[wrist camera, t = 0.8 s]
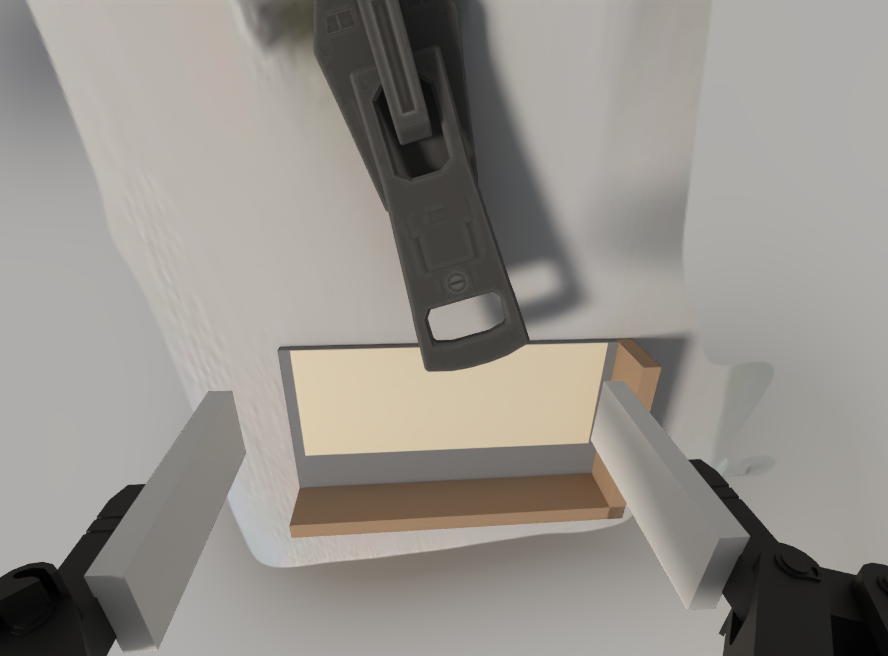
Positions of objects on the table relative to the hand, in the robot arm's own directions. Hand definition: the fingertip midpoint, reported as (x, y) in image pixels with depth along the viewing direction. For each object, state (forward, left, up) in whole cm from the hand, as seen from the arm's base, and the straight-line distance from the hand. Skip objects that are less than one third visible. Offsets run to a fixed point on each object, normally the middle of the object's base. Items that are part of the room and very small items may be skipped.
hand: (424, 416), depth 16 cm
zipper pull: (-6, +1, -21) cm, 22 cm away
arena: (+16, +3, -21) cm, 26 cm away
